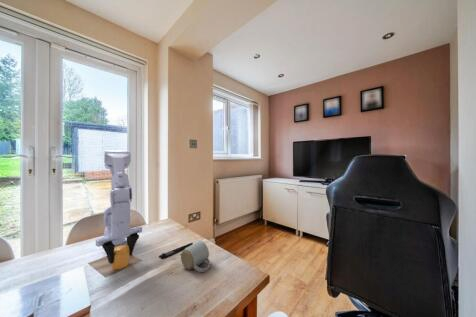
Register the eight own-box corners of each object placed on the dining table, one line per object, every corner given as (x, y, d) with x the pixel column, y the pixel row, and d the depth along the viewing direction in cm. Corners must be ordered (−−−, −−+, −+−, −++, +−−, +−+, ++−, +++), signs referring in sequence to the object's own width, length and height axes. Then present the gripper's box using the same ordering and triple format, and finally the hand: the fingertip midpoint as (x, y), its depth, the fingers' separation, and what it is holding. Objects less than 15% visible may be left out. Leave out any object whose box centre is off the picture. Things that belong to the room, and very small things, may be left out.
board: (87, 267, 66) (87, 252, 66) (122, 253, 76) (123, 240, 76) (105, 282, 58) (105, 265, 58) (142, 264, 68) (142, 249, 68)
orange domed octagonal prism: (109, 266, 64) (109, 249, 64) (124, 259, 69) (124, 244, 69) (116, 270, 62) (116, 253, 62) (131, 263, 66) (131, 247, 66)
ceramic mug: (179, 266, 67) (179, 245, 67) (195, 256, 74) (196, 238, 74) (198, 277, 61) (199, 255, 61) (215, 266, 67) (215, 245, 67)
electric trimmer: (195, 250, 80) (195, 243, 80) (160, 265, 68) (160, 257, 68) (190, 248, 82) (190, 241, 82) (156, 262, 70) (156, 253, 71)
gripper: (102, 229, 57) (101, 272, 57) (146, 217, 69) (146, 252, 69) (93, 225, 61) (92, 265, 61) (136, 214, 73) (136, 248, 73)
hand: (120, 258), depth 65 cm, fingers open, 6 cm apart
